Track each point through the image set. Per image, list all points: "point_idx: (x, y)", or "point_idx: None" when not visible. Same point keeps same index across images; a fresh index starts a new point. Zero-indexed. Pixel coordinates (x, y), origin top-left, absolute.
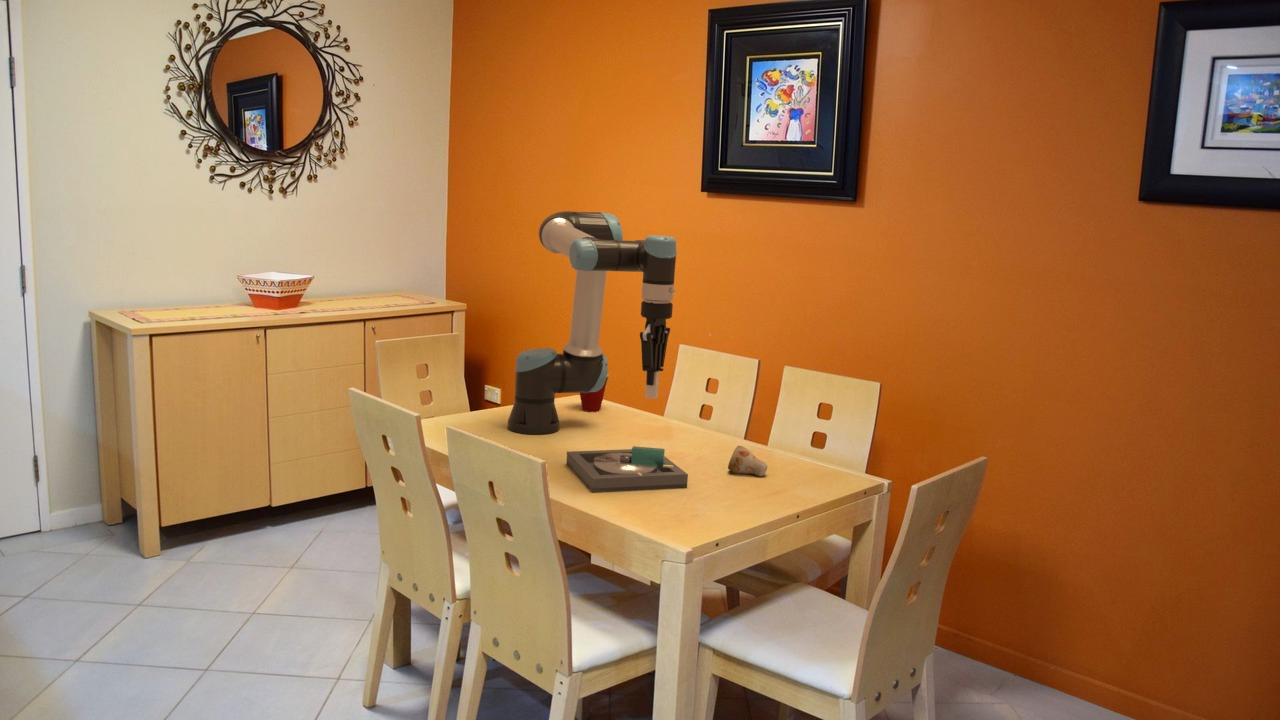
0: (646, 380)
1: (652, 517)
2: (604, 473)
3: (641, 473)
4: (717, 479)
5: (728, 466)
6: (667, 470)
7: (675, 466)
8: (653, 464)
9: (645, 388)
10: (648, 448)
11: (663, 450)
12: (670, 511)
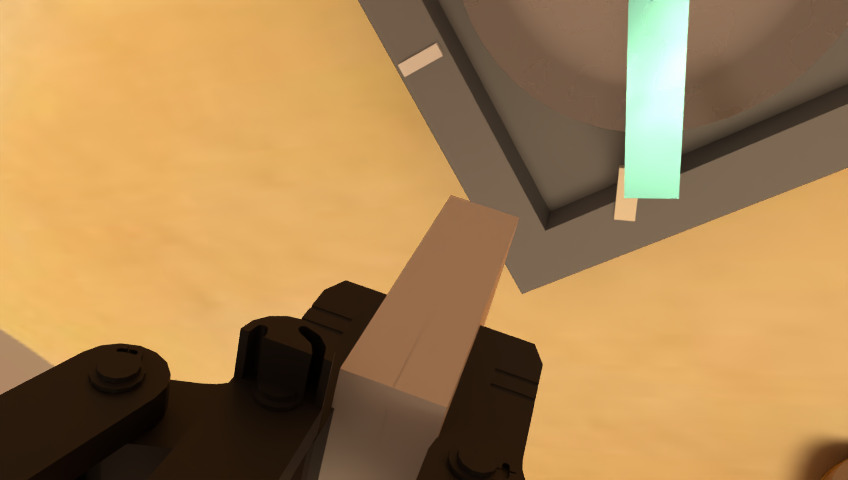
0: (386, 296)
1: (108, 154)
2: None
3: (452, 64)
4: (712, 391)
5: (841, 464)
6: None
7: (653, 229)
8: (625, 112)
9: (425, 237)
10: (657, 94)
11: (633, 194)
12: (201, 213)
